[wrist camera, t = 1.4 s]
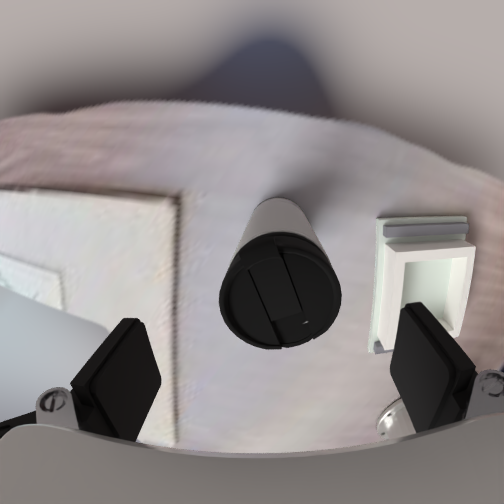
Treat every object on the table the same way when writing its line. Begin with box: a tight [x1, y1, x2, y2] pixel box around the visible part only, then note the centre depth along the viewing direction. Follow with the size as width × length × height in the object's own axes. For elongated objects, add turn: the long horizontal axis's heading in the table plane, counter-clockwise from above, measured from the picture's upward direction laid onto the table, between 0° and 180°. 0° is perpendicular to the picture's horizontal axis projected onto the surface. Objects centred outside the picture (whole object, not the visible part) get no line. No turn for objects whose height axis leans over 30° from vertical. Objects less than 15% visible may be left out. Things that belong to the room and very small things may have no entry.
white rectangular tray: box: [367, 216, 476, 354], centre depth 31 cm, size 18×13×4 cm
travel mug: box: [219, 197, 342, 349], centre depth 23 cm, size 6×7×20 cm
